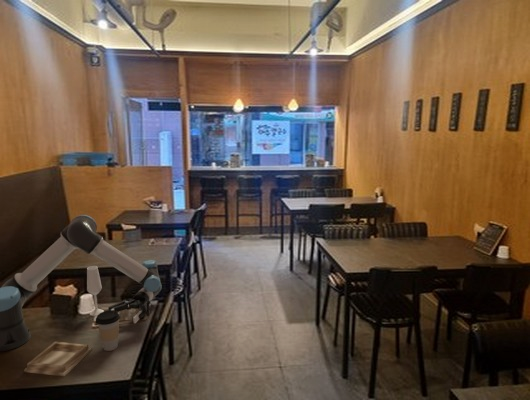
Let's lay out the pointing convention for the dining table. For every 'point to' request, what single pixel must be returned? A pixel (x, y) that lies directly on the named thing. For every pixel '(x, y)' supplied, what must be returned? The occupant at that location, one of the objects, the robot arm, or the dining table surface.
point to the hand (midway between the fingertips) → (119, 319)
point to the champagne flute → (94, 287)
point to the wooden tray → (58, 359)
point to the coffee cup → (108, 329)
